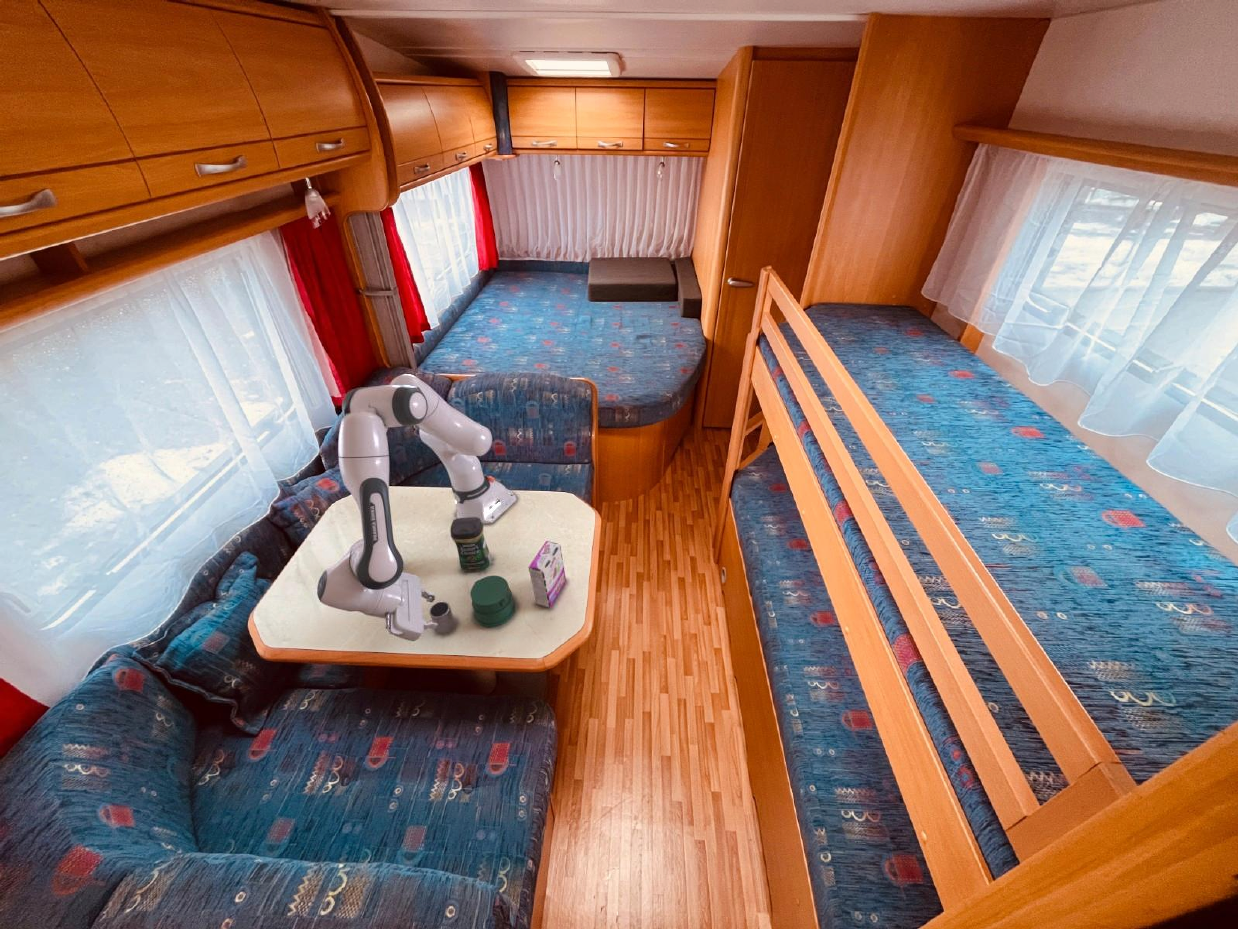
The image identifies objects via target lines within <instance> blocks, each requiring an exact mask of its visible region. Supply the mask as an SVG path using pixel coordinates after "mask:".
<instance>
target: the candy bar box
mask: <svg viewBox="0 0 1238 929" xmlns="http://www.w3.org/2000/svg"><path fill="white" fill-rule="evenodd" d="M527 568H528V572H529V576H530V581H531V584H532V590H533V593H534V598H535V602H536V605H539V606H541V607H542V606H543V607H546V608H549V609H551V608H552V606H553V604H554V603H555V601H556V599H557V598H558V596H559V594H560V592H561V591H562V589H563V587H564V585H565V584H566V582H567V576H566V571H565V566H564V559H563V554H562V547H561V543H558V542H553V541H550V540H545V542H544V543H543V545H542V547H541V548H540V550H538V552H537V554H536V555H535V557H534V558H533V560H532V561H531V563H530V564H529V566H528V567H527Z"/></svg>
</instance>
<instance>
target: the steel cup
mask: <svg viewBox="0 0 1238 929" xmlns="http://www.w3.org/2000/svg"><path fill="white" fill-rule="evenodd" d="M428 614H429V616H430V619H431V620H436V621H437V627H436V628H435V630H436V632H437V633H438V634H440V635H447V634H449V633H451V632H452V631H453V630H454V629H455V627H456V624H457V623H456V620H455V617H454V614H453V611H452V608H451V605H450V603H448V602H447V601H443V600H441V601H438V602H435V603H434V604H433V605H432V606H430V608H429V613H428Z"/></svg>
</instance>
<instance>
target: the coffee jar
mask: <svg viewBox="0 0 1238 929" xmlns="http://www.w3.org/2000/svg"><path fill="white" fill-rule="evenodd" d="M449 532H450V538H451V539H452V541H453V542H454V543H455V546H456V549H457V554H458V561H459V566H460V569H461V570H462V571H463V572H468V573H474V572H475V573H476V572H482V571H485V570H487V569H488V568H489V567H490V565H491V563H492V554H491V552H490V549H489V547H488V544H487V542H486V539H485V535H484V532H485V530H484V523H482V522H481V520H480V518H478V517H467V518H458V519H457V518H455V519H453V520H452V522H451V525H450V531H449Z"/></svg>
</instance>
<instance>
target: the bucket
mask: <svg viewBox="0 0 1238 929" xmlns="http://www.w3.org/2000/svg"><path fill="white" fill-rule="evenodd" d="M469 596H470V599H471V607H472V610H473V617H474V619H475V621H476V623H477V624H479V625H480V626H482V627H484V628H496V627H500V626H502V625H504V624H506V623H507V622H508V621H510V620H511V619H512V617H513V616H514V615H515V612H516V608H517V604H516V601H515V598H514V596H513V592H512V590H511V589H510V586H509V582H508V581H507V580H506V579H505V578H504V577H502V576H500V575H488V576H484V577H482V578H480V579H478V580H476V581H475V582H474V584H473V586H472V587H471V589H470V594H469Z"/></svg>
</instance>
